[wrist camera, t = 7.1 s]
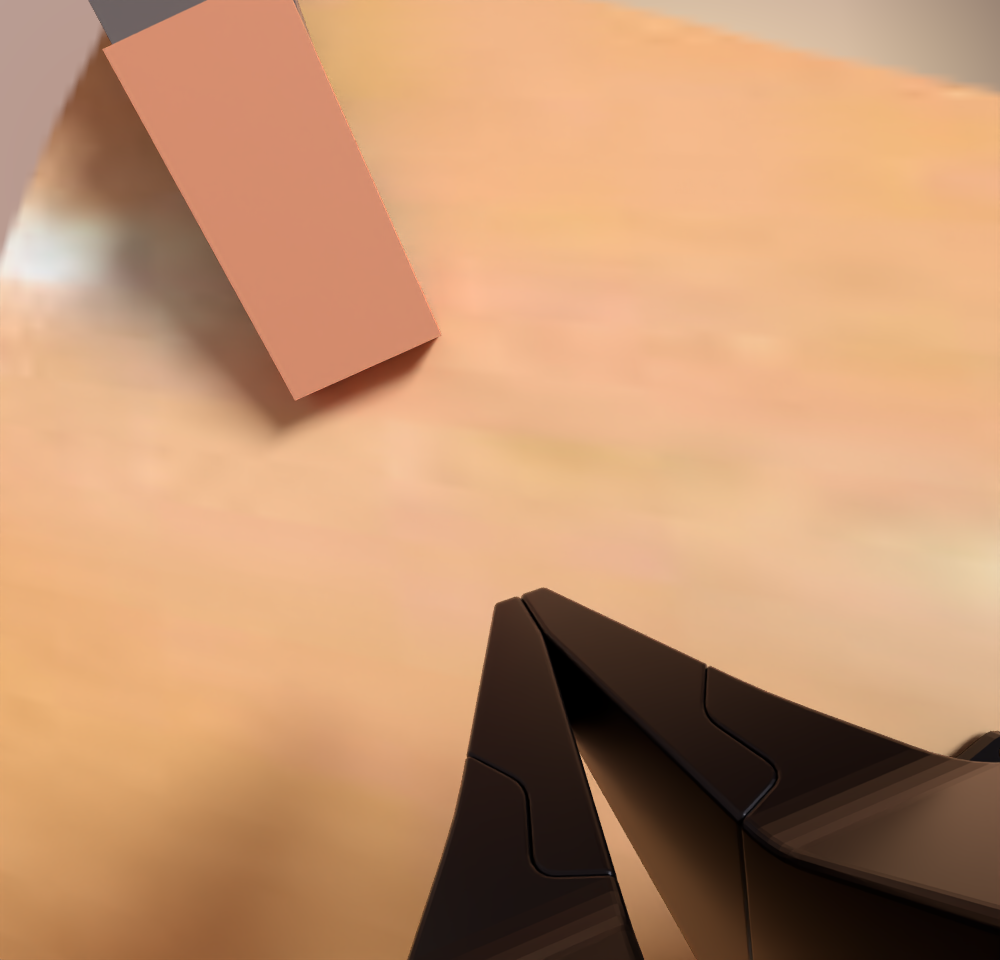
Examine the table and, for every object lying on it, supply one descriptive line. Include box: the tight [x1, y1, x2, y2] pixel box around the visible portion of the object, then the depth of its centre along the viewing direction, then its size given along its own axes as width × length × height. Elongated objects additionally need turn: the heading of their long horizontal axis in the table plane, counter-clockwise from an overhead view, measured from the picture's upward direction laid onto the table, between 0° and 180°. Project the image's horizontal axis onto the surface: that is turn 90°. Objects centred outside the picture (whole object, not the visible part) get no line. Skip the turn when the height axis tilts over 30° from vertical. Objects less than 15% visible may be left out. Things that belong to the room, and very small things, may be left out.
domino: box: [102, 0, 441, 401], centre depth 17 cm, size 2×5×10 cm
